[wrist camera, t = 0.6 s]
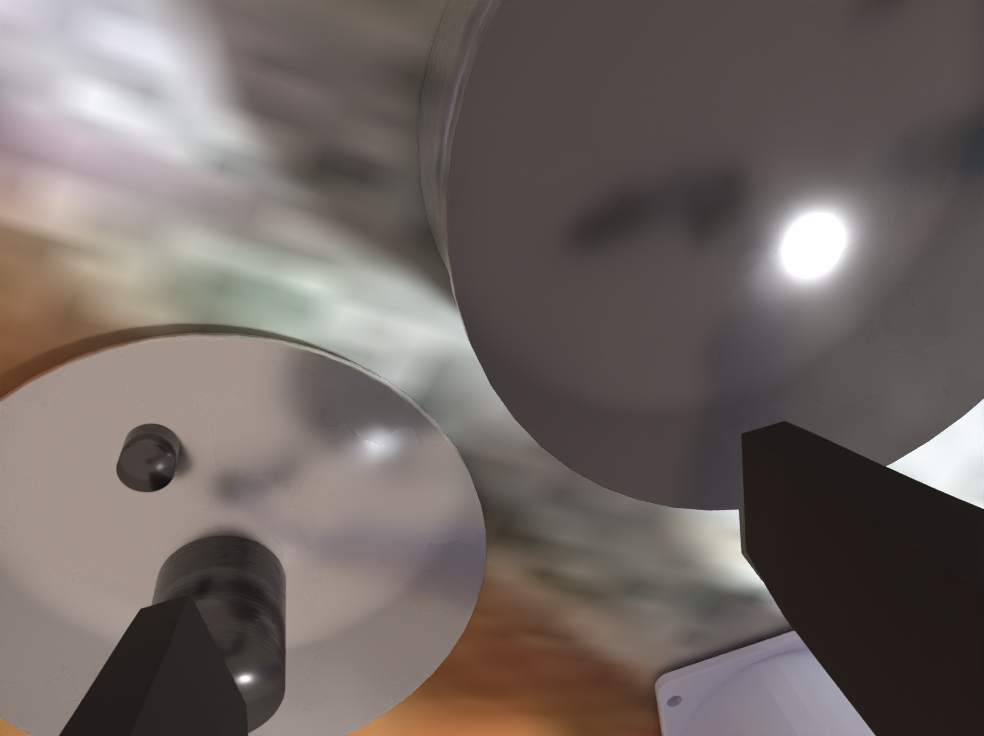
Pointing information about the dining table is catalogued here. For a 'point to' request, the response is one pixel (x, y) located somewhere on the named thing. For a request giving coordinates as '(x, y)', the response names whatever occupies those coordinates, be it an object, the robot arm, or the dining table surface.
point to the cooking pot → (712, 225)
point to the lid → (232, 527)
